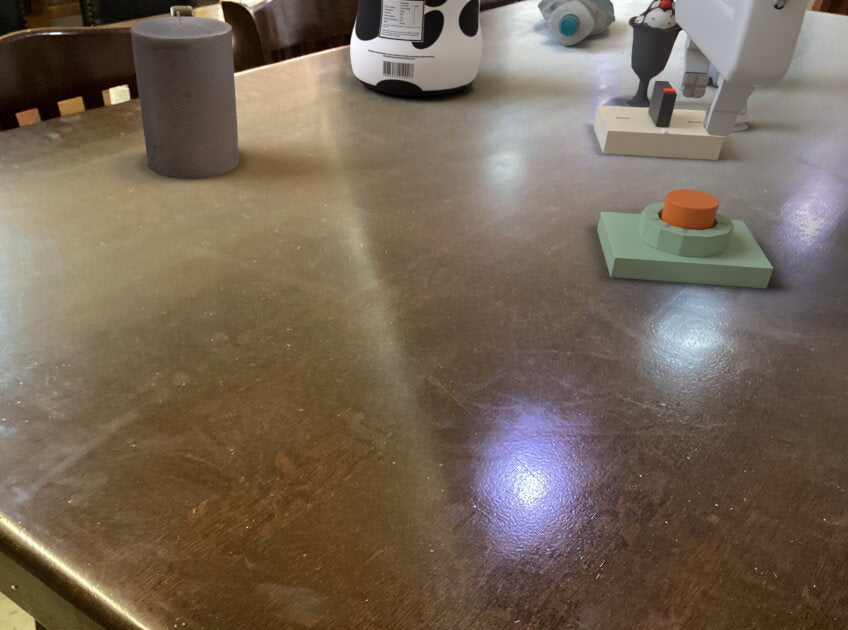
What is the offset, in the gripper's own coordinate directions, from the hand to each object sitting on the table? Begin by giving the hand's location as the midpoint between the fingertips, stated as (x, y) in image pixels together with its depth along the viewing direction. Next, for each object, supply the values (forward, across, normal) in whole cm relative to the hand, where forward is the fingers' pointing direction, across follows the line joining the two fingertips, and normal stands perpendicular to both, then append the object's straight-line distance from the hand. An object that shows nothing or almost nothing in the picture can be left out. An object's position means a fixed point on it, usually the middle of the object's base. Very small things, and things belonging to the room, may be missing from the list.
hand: (702, 113), depth 63 cm
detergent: (+12, +81, +2) cm, 82 cm away
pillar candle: (+13, +12, +46) cm, 49 cm away
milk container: (+12, +46, +25) cm, 54 cm away
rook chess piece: (+12, +35, -13) cm, 39 cm away
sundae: (+12, +42, -4) cm, 44 cm away
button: (+8, -2, -1) cm, 8 cm away
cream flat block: (+12, +27, -3) cm, 30 cm away
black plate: (+9, +27, -3) cm, 29 cm away
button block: (+12, -2, -1) cm, 12 cm away
